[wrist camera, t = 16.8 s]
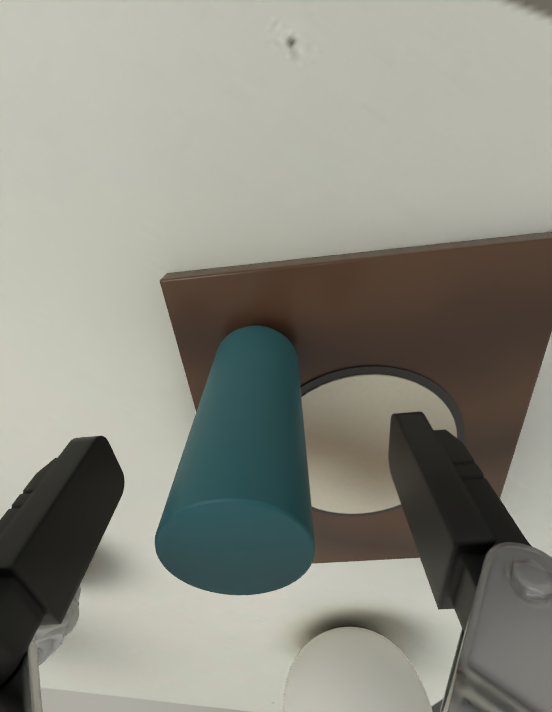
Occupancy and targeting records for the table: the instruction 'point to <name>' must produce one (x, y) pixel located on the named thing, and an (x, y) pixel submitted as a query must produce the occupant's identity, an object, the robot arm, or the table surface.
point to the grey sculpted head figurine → (56, 631)
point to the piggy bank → (353, 675)
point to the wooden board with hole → (385, 362)
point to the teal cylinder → (243, 475)
